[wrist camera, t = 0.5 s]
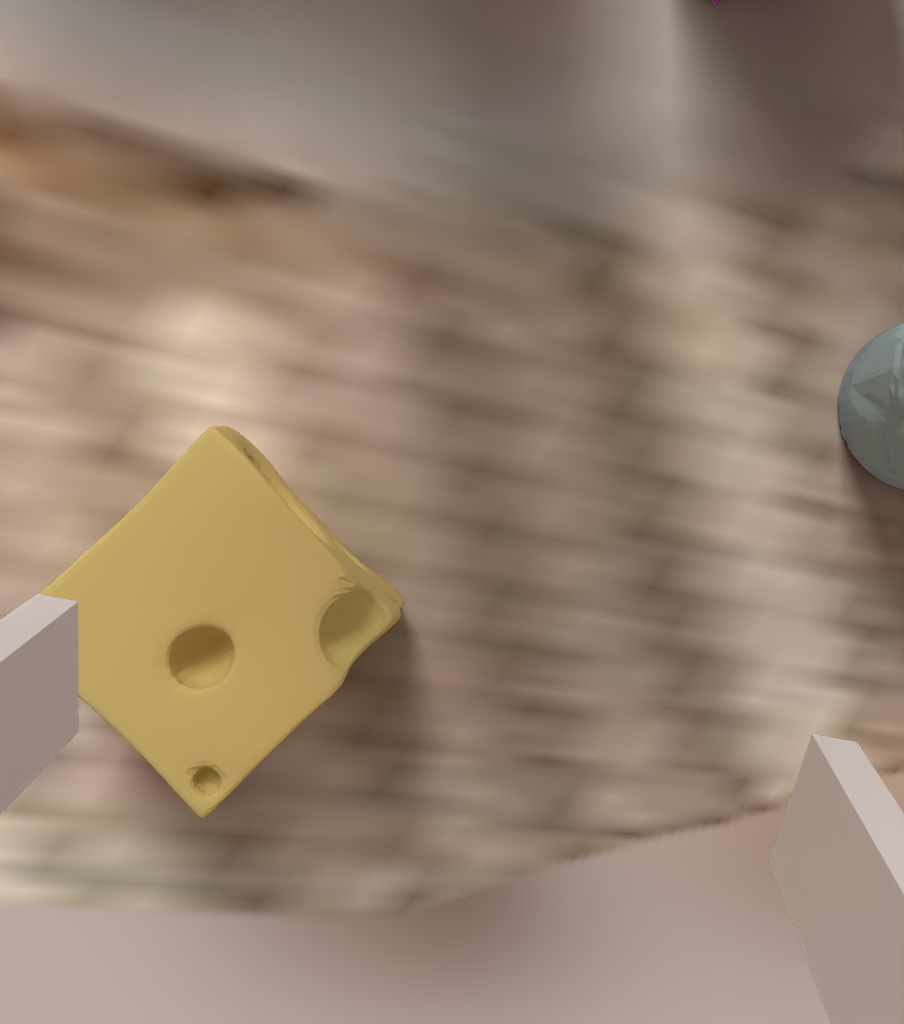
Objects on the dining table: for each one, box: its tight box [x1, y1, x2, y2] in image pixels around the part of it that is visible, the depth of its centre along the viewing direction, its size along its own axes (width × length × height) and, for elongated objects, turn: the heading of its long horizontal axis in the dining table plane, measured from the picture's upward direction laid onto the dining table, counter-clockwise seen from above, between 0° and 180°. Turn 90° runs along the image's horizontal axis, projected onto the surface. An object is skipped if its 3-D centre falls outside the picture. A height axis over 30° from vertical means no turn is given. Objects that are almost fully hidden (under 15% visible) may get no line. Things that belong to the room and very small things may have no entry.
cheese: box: [40, 426, 404, 818], centre depth 33 cm, size 10×11×10 cm
